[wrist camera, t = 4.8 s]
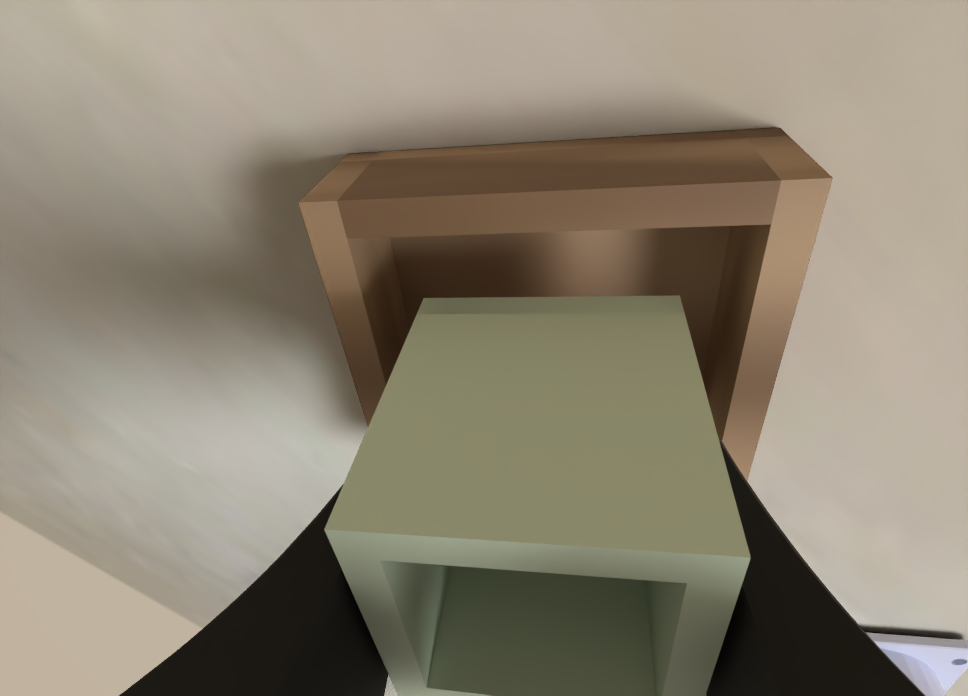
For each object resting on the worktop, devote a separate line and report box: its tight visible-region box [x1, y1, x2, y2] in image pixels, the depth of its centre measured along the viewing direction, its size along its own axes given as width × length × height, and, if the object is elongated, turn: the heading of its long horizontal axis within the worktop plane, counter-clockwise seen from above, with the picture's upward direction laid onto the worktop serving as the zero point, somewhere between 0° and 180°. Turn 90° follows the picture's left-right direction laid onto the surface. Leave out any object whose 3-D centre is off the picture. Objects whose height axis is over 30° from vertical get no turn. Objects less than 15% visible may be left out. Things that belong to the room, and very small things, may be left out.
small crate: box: [324, 295, 751, 696], centre depth 10 cm, size 5×5×6 cm
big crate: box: [298, 128, 833, 481], centre depth 14 cm, size 10×10×3 cm
